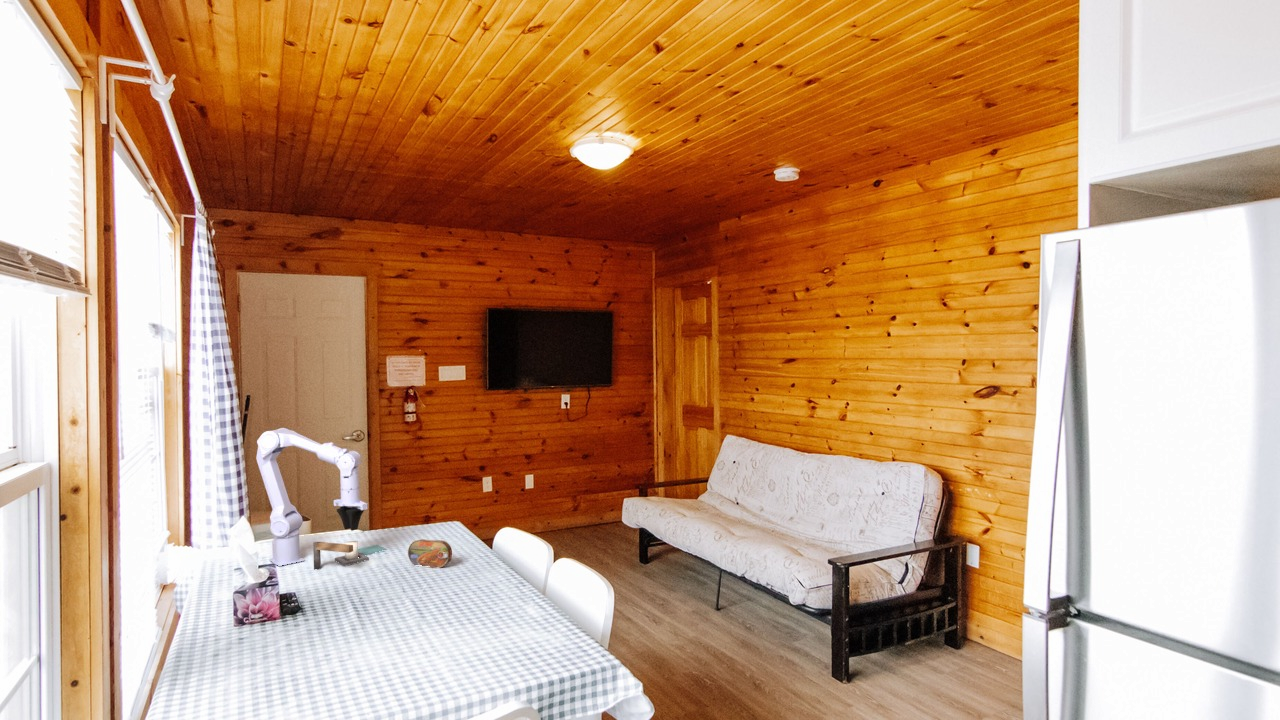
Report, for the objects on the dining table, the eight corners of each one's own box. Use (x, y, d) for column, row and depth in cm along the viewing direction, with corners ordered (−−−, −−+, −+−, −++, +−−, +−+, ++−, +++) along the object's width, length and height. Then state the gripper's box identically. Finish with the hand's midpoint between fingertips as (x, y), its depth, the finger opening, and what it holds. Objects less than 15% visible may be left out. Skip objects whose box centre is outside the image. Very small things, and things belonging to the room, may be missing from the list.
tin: (407, 565, 219) (407, 539, 218) (413, 562, 222) (413, 537, 221) (448, 569, 214) (447, 542, 214) (454, 566, 217) (453, 540, 217)
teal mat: (354, 551, 235) (354, 549, 235) (376, 546, 241) (376, 544, 241) (364, 555, 230) (364, 554, 230) (387, 550, 235) (387, 549, 235)
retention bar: (312, 569, 216) (311, 543, 216) (317, 567, 218) (316, 541, 218) (349, 573, 212) (348, 546, 212) (353, 571, 214) (353, 544, 213)
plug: (343, 560, 225) (342, 542, 225) (355, 557, 228) (354, 540, 227) (348, 563, 222) (347, 545, 222) (360, 560, 225) (359, 542, 225)
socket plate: (334, 560, 225) (334, 557, 225) (358, 555, 230) (358, 552, 230) (344, 565, 219) (344, 562, 219) (368, 560, 225) (368, 557, 225)
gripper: (325, 488, 224) (326, 529, 225) (354, 492, 217) (355, 534, 217) (343, 484, 231) (344, 524, 231) (372, 488, 223) (373, 529, 224)
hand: (351, 529), depth 225 cm, fingers open, 3 cm apart
